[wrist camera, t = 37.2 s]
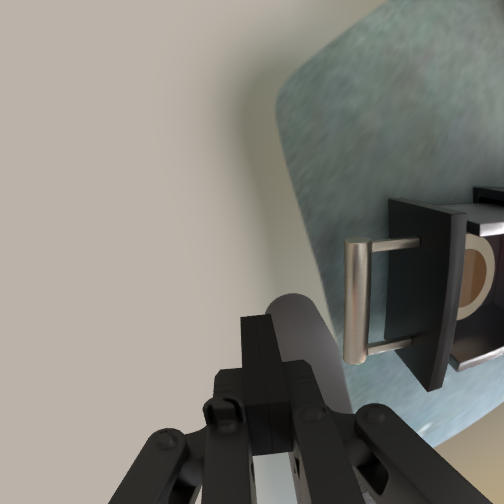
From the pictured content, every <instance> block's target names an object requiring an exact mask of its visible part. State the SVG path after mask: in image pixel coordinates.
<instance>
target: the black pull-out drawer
mask: <svg viewBox="0 0 504 504" xmlns="http://www.w3.org/2000/svg"><path fill="white" fill-rule="evenodd" d="M388 209H389V239H381V240H371V239H369V238H366V237H350V238H346V239H345V240H344V271H345V302H344V343H343V360H344V361H345V362H346V363H348V364H353V365H356V364H361V363H363V362H364V361H365V360H366V358H367V355H372V354H377V353H381V352H386V351H390V350H394V351H395V352H396V353H397V355H398V356H399V357H400V358H401V359H402V361H403V362H404V363H405V364H406V366H407V367H408V368H409V369H410V371H411V372H412V373H413V374H414V376H415V377H416V378H417V380H418V381H419V382H420V383H421V385H422V386H423V387H424V388H425V390H426V391H427V392H430V391H433V390H436V389H439V388H441V387H442V384H443V381H444V377H445V373H446V369H447V365H448V363H449V364H450V365H451V366H452V367H453V368H454V369H455V370H456V371H457V372H460V371H463V370H465V369H468V368H471V367H473V366H476V365H479V364H481V363H484V362H486V361H488V360H491V359H493V358H496V357H498V356H500V355H503V354H504V203H502V202H501V203H477V204H457V205H439V206H436V205H432V204H428V203H423V202H419V201H414V200H410V199H405V198H389V199H388ZM466 233H469V234H472V235H475V236H478V237H484V238H485V239H486V240H487V241H488V243H489V244H490V246H491V248H492V250H493V254H494V259H495V272H494V278H493V282H492V285H491V288H490V290H489V292H488V294H487V296H486V298H485V300H484V301H483V303H482V304H481V305H480V306H479V307H478V308H477V309H476V311H474V312H473V313H472V314H471V315H469V316H467V317H466V318H464V319H461V320H457V315H458V309H459V302H460V295H461V288H462V279H463V270H464V259H465V245H466ZM381 251H389V263H388V289H387V306H386V320H385V331H384V339H385V340H384V341H379V342H374V343H369V344H368V333H369V317H370V296H371V252H381Z"/></svg>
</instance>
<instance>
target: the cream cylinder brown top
mask: <svg viewBox="0 0 504 504" xmlns="http://www.w3.org/2000/svg"><path fill="white" fill-rule="evenodd" d="M494 272H495V259H494V254H493V250H492V248H491V246H490V244H489V243H488V241H487V240H486V239H485V238H484V237H478V236H475V235H472V234H469V233H466V245H465V259H464V270H463V279H462V288H461V295H460V302H459V309H458V315H457V320H461V319H464V318H466V317H467V316H469V315H471V314H472V313H473V312H474V311H476V309H477V308H478V307H479V306H480V305H481V304H482V303H483V301H484V300H485V298H486V296H487V294H488V292H489V290H490V288H491V285H492V282H493V278H494Z"/></svg>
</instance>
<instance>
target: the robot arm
mask: <svg viewBox="0 0 504 504" xmlns="http://www.w3.org/2000/svg"><path fill="white" fill-rule="evenodd" d="M240 318H241V346H242V368H235V369H222V370H220V371H219V372H218V373H217V375H216V376H215V380H214V391H213V392H214V393H213V398H211V399H209V400H208V401H207V402H206V403H205V404H204V406H203V413H204V417H205V420H206V424H207V425H206V426H205V427H204V428H203V429H201V430H199V431H196V432H193V433H190V434H185V435H184V434H183V433H182V432H181V431H180V430H177V429H174V428H165V429H161V430H158V431H156V432H154V433H153V434H152V435H151V436H150V437H149V438H148V440H147V441H146V443H145V445H144V447H143V448H142V450H141V451H140V453H139V455H138V456H137V458H136V460H135V461H134V463H133V464H132V466H131V468H130V469H129V471H128V472H127V474H126V476H125V477H124V479H123V480H122V482H121V484H120V485H119V487H118V488H117V490H116V492H115V493H114V495H113V496H112V498H111V500H110V501H109V503H108V504H195V501H196V499H197V497H198V494H199V491H200V489H201V486H202V499H201V504H257V498H256V487H255V475H254V474H255V473H254V464H253V458H252V456H257V455H267V454H275V453H284V452H291V451H294V473H296V474H297V479H298V485H299V490H300V495H301V500H302V504H365V501H364V499H363V496H362V493H361V490H360V487H359V484H358V482H357V479H356V477H357V478H358V480H359V481H360V482H361V483H362V485H363V486H364V487H365V489H366V490H367V491H368V493H369V494H370V495H371V497H372V498H373V499H374V500H375V502H376V503H377V504H493V503H491V502H490V501H489V500H488V499H487V498H486V497H485V496H484V495H483V494H481V492H479V491H478V490H477V489H476V488H475V487H474V486H473V485H472V484H471V483H470V482H468V481H467V480H466V479H465V478H464V477H463V476H462V475H461V474H460V473H459V472H458V471H457V470H455V469H454V468H453V467H452V466H451V465H450V464H449V463H448V462H447V461H446V460H445V459H444V458H443V457H441V456H440V455H439V454H438V453H437V452H436V451H435V450H434V449H433V448H432V447H431V446H430V445H429V444H428V443H426V442H425V441H424V440H423V439H422V438H421V437H420V436H419V435H418V434H417V433H416V432H415V431H414V430H413V429H412V428H411V427H409V426H408V425H407V424H406V423H405V422H404V421H403V420H402V419H401V418H400V417H399V416H398V415H397V414H396V413H395V412H394V411H393V410H392V409H390V408H389V407H387V406H386V405H383V404H379V403H371V404H367V405H364V406H363V407H361V408H359V410H358V411H357V412H356V414H343V413H337V412H334V411H332V410H331V409H330V408H329V407H328V406H326V405H325V403H324V401H323V398H322V395H321V393H320V390H319V387H318V384H317V382H316V379H315V376H314V374H313V371H312V368H311V365H309V364H308V363H307V362H306V361H305V360H296V361H289V362H282V360H281V356H280V351H279V347H278V343H277V339H276V334H275V330H274V326H273V322H272V317H271V314H265V315H256V316H247V317H240Z"/></svg>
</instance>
